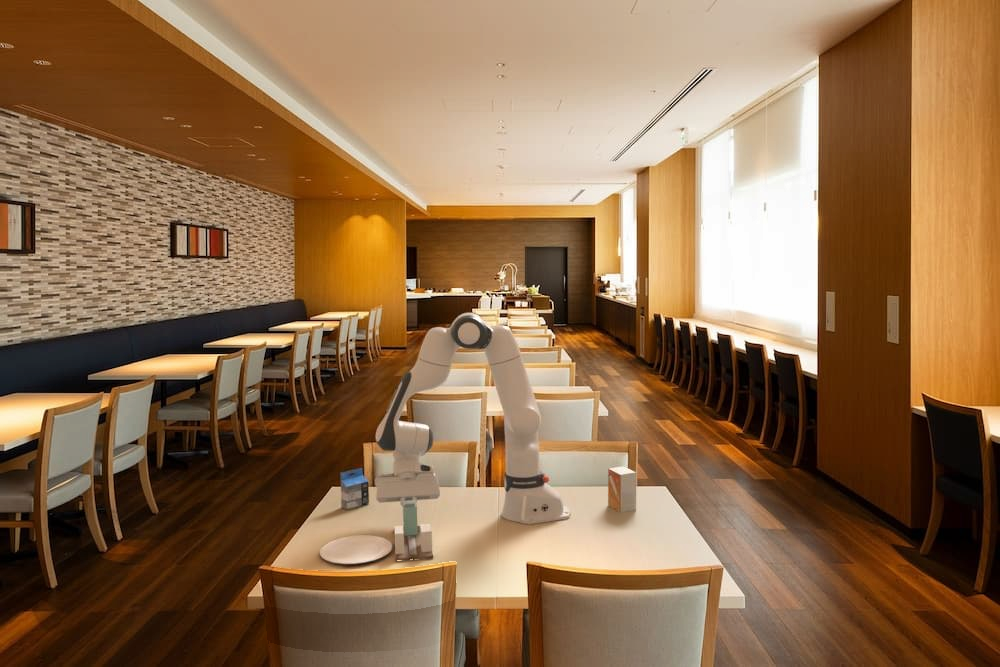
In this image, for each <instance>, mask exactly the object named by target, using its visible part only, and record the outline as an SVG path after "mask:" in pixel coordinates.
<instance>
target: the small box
mask: <svg viewBox="0 0 1000 667" xmlns="http://www.w3.org/2000/svg"><path fill="white" fill-rule="evenodd" d="M607 478H608V480H607V481H608V482H607V483H608V484H607V485H608V486H607V488H608V489H607V493H608V494H607V506H609V507H611V508H612V509H614V510H616V511H617V512H619V513H625V512H631V511H636V510H637V471H634V470H632V469H630V468H627V467H625V466H624V465H623V466H617V467H610V468H608V473H607Z"/></svg>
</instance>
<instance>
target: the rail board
mask: <svg viewBox="0 0 1000 667" xmlns="http://www.w3.org/2000/svg"><path fill="white" fill-rule="evenodd" d="M417 529H418V535H409V536H404V554H395V553H394V554H395V555H394V556H396V557H395V561H396V560H410V559H413V560H412V561H416V560H415V559H425V560H432V559H434V554H433V550H432V551H430V552H422V550H421V543H420V525H417ZM403 532H404V526H403ZM393 540H394V541H395V532H394V531H393Z"/></svg>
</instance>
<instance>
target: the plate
mask: <svg viewBox="0 0 1000 667" xmlns="http://www.w3.org/2000/svg"><path fill="white" fill-rule="evenodd" d="M392 549H393V544H392V542H391V541H389V540H388V539H386V538H384V537H381V536H377V535H368V534H367V535H365V534H363V535H362V534H361V535H359V534H358V535H350V536H344V537H339V538H337V539H335V540H331V541H330V542H328V543H326V544H324V546H322V547H321V548H320V550H319V556H320V558H321V559H322V560H325V561H327V562H328V563H332V564H335V565H345V566H346V565H352V566H355V565H361V564H363V565H364V564H367V563H373V562H375V561H378V560H381V559H383V558H384V557H386V556H387V555H389V554H390V553H391V552H392Z"/></svg>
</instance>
